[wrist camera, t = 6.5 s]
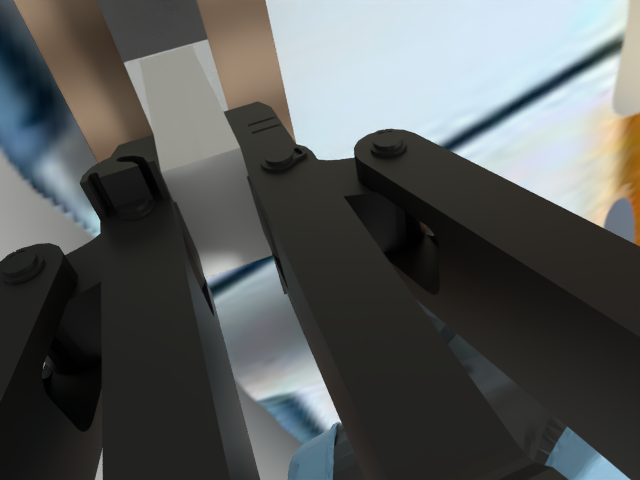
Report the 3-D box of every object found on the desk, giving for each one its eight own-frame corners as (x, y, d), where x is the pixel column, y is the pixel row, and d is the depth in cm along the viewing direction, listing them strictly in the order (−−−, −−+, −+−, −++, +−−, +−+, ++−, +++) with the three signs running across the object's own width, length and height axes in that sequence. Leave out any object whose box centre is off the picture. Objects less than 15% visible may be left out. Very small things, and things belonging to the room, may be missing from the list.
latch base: (290, 155, 38) (314, 193, 34) (131, 206, 36) (135, 253, 32) (197, -255, 24) (218, -277, 19) (-76, -205, 22) (-117, -217, 18)
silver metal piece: (249, 188, 35) (256, 202, 33) (187, 208, 34) (191, 223, 33) (153, -135, 22) (157, -132, 21) (53, -113, 22) (51, -109, 21)
